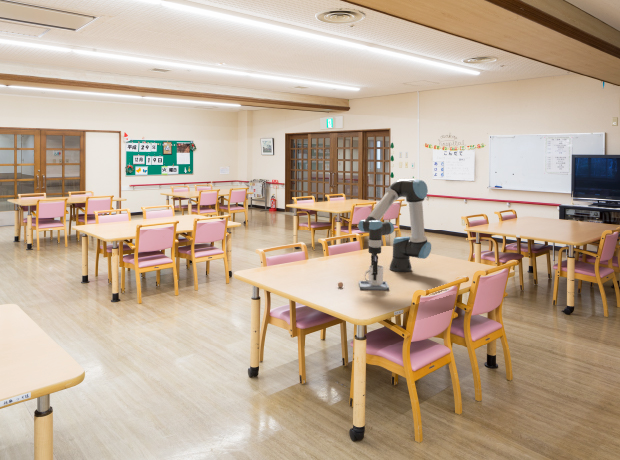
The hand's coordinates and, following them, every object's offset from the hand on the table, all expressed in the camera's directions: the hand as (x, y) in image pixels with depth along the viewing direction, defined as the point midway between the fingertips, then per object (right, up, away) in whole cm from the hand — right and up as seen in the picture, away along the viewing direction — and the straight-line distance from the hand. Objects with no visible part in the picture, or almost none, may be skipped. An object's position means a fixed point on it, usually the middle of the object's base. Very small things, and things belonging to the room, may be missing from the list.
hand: (373, 283), depth 294 cm
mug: (0, -1, -1) cm, 1 cm away
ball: (-20, -2, -2) cm, 20 cm away
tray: (0, -2, 0) cm, 2 cm away
